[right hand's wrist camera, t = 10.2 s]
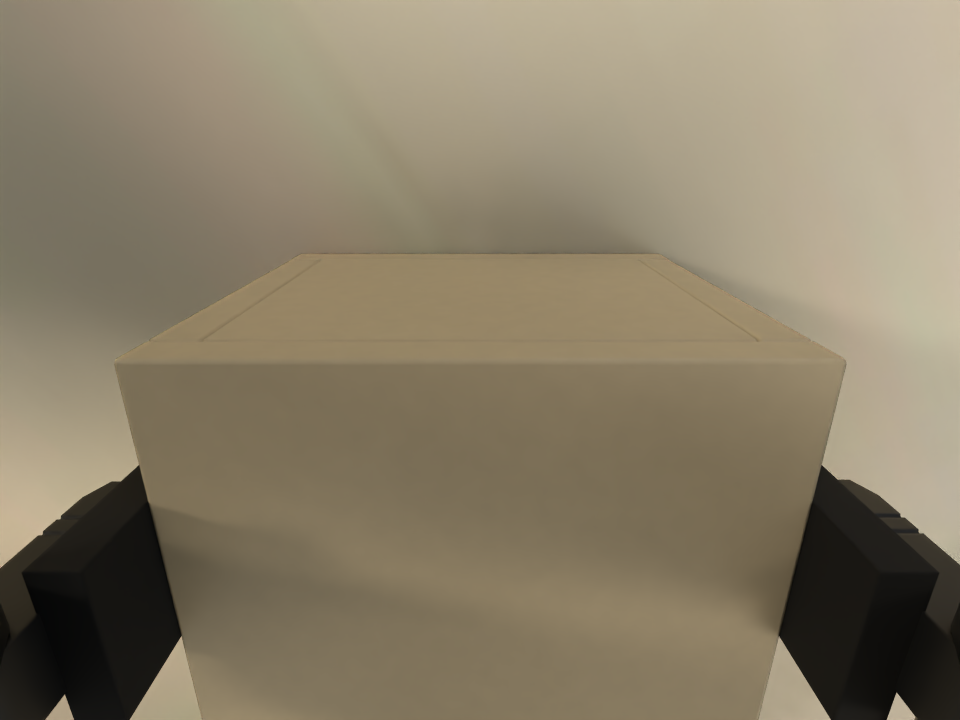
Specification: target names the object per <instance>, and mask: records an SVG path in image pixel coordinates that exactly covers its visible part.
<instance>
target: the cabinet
mask: <svg viewBox="0 0 960 720" xmlns="http://www.w3.org/2000/svg"><path fill="white" fill-rule="evenodd" d="M114 365H115V369H116V373H117V377H118V381H119V385H120V389H121V393H122V397H123V401H124V405H125V409H126V413H127V417H128V421H129V425H130V429H131V434H132V438H133V442H134V446H135V450H136V454H137V458H138V462H139V466H140V470H141V474H142V478H143V482H144V486H145V490H146V494H147V498H148V502H149V506H150V510H151V514H152V518H153V522H154V526H155V531H156V535H157V539H158V543H159V547H160V551H161V555H162V559H163V563H164V567H165V571H166V575H167V579H168V583H169V587H170V591H171V595H172V599H173V603H174V607H175V611H176V615H177V619H178V624H179V628H180V632H181V636H182V640H183V644H184V648H185V652H186V656H187V660H188V664H189V668H190V672H191V676H192V680H193V684H194V688H195V692H196V696H197V700H198V704H199V708H200V712H201V716H202V720H758V719H759V715H760V710H761V706H762V702H763V698H764V694H765V690H766V686H767V682H768V678H769V674H770V670H771V666H772V662H773V658H774V654H775V650H776V646H777V642H778V638H779V634H780V630H781V626H782V622H783V618H784V614H785V610H786V606H787V602H788V598H789V594H790V589H791V585H792V581H793V577H794V573H795V569H796V565H797V561H798V557H799V553H800V549H801V545H802V541H803V537H804V533H805V529H806V525H807V521H808V517H809V513H810V509H811V505H812V501H813V497H814V493H815V489H816V485H817V481H818V477H819V473H820V469H821V464H822V460H823V456H824V452H825V448H826V444H827V440H828V436H829V432H830V428H831V424H832V420H833V416H834V412H835V408H836V404H837V400H838V396H839V392H840V388H841V384H842V380H843V376H844V372H845V368H846V360H845V359H844V358H842V357H841V356H839V355H837V354H835V353H834V352H832V351H830V350H828V349H826V348H825V347H823V346H821V345H819V344H818V343H815V342H811V340H810V339H808V338H807V337H805V336H803V335H801V334H800V333H798V332H796V331H794V330H792V329H791V328H789V327H787V326H785V325H784V324H782V323H780V322H778V321H776V320H775V319H773V318H771V317H769V316H768V315H766V314H764V313H762V312H760V311H759V310H757V309H755V308H753V307H752V306H750V305H748V304H746V303H744V302H743V301H741V300H739V299H737V298H736V297H734V296H732V295H730V294H728V293H727V292H725V291H723V290H721V289H720V288H718V287H716V286H714V285H712V284H711V283H709V282H707V281H705V280H704V279H702V278H700V277H698V276H696V275H695V274H693V273H691V272H689V271H688V270H686V269H684V268H682V267H680V266H679V265H677V264H675V263H673V262H672V261H670V260H668V259H667V258H666V257H664V256H662V255H660V254H300V255H298V256H296V257H295V258H293V259H292V260H290V261H288V262H287V263H285V264H283V265H281V266H279V267H278V268H276V269H274V270H272V271H271V272H269V273H267V274H265V275H263V276H262V277H260V278H258V279H256V280H255V281H253V282H251V283H249V284H247V285H246V286H244V287H242V288H240V289H239V290H237V291H235V292H233V293H232V294H230V295H228V296H226V297H224V298H223V299H221V300H219V301H217V302H216V303H214V304H212V305H210V306H208V307H207V308H205V309H203V310H201V311H200V312H198V313H196V314H194V315H192V316H191V317H189V318H187V319H185V320H184V321H182V322H180V323H178V324H176V325H175V326H173V327H171V328H169V329H168V330H166V331H164V332H162V333H160V334H159V335H157V336H155V337H153V338H152V339H150V340H149V342H145V343H143V344H141V345H140V346H138V347H136V348H134V349H133V350H131V351H129V352H127V353H125V354H124V355H122V356H120V357H118V358H117V359H116V360H115V364H114Z"/></svg>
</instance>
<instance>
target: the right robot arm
mask: <svg viewBox="0 0 960 720" xmlns="http://www.w3.org/2000/svg"><path fill="white" fill-rule="evenodd" d="M779 636H780V638H781V640H782V641H783V643H784V645H785V646H786V648H787V649H788V651H789V653H790V654H791V656H792V657H793V659H794V661H795V662H796V664H797V665H798V667H799V669H800V670H801V672H802V674H803V675H804V677H805V678H806V680H807V682H808V683H809V685H810V686H811V688H812V690H813V691H814V693H815V695H816V696H817V698H818V699H819V701H820V703H821V704H822V706H823V707H824V709H825V711H826V712H827V714H828V715H829V717H830V719H831V720H887V717H888V714H889V712H890V709H891V706H892V703H893V700H894V698H895V695H896V692H897V693H898V694H899V696H900V697H901V698H902V700H903V701H904V702H905V703H906V705H907V706H908V707H909V709H910V710H911V711H912V713H913V714H914V715H915V716H916V717H915V720H960V565H959V564H958V563H957V562H956V561H955V560H953V559H952V558H951V557H950V556H949V555H948V554H946V553H945V552H944V551H943V550H942V549H941V548H939V547H938V546H937V545H936V544H935V543H934V542H932V541H931V540H930V539H929V538H928V537H927V536H925V535H924V534H919V532H918V529H917V528H916V527H915V526H914V525H913V524H911V523H910V522H909V521H908V520H907V519H906V518H901V516H900V513H899V512H897V511H896V510H895V509H894V508H893V507H892V506H890V505H889V504H888V503H887V502H886V501H885V500H883V499H882V498H881V497H880V496H879V495H877V494H875V493H873V492H871V491H869V490H868V489H866V488H864V487H862V486H860V485H858V484H856V483H855V482H853V481H851V480H837V479H836V478H835V477H834V476H833V475H832V474H831V473H830V472H829V471H827V470H826V469H825V468H824V467H823V466H822V465H821V469H820V473H819V477H818V481H817V485H816V489H815V493H814V497H813V501H812V505H811V509H810V513H809V517H808V521H807V525H806V529H805V533H804V537H803V541H802V545H801V549H800V553H799V557H798V561H797V565H796V569H795V573H794V577H793V581H792V585H791V589H790V594H789V598H788V602H787V606H786V610H785V614H784V618H783V622H782V626H781V630H780V634H779ZM180 637H181V632H180V628H179V624H178V619H177V615H176V611H175V607H174V603H173V599H172V595H171V591H170V587H169V583H168V579H167V575H166V571H165V567H164V563H163V559H162V555H161V551H160V547H159V543H158V539H157V535H156V531H155V526H154V522H153V518H152V514H151V510H150V506H149V502H148V498H147V494H146V490H145V486H144V482H143V478H142V474H141V470H140V466H138V467H136V468H135V469H134V470H133V471H132V472H131V473H130V474H129V475H128V476H127V477H125V478H124V479H123V480H122V481H121V482H110V483H108V484H106V485H104V486H103V487H101V488H99V489H97V490H95V491H93V492H91V493H90V494H88V495H86V496H84V497H82V498H81V499H80V500H79V501H78V502H77V503H75V504H74V505H73V506H72V507H71V508H70V509H68V510H67V511H66V512H65V513H64V514H63V515H61V519H60V520H56V521H55V522H53V523H52V524H51V525H50V526H49V527H48V528H46V529H45V530H44V531H43V535H38V536H37V537H36V538H35V539H34V540H33V541H31V542H30V543H29V544H28V545H27V546H26V547H24V548H23V549H22V550H21V551H20V552H19V553H17V554H16V555H15V556H14V557H13V558H12V559H10V560H9V561H8V562H7V563H6V564H5V565H4V566H2V567H1V568H0V720H45V719H46V718H47V717H48V715H49V714H50V713H51V711H52V710H53V709H54V707H55V706H56V705H57V704H58V702H59V701H60V700H61V698H62V697H63V696H64V694H65V696H66V698H67V701H68V704H69V707H70V709H71V712H72V715H73V718H74V720H130V718H131V716H132V715H133V713H134V712H135V710H136V708H137V707H138V705H139V704H140V702H141V700H142V699H143V697H144V695H145V694H146V692H147V691H148V689H149V687H150V686H151V684H152V683H153V681H154V679H155V678H156V676H157V674H158V673H159V671H160V670H161V668H162V666H163V665H164V663H165V662H166V660H167V658H168V657H169V655H170V654H171V652H172V650H173V649H174V647H175V645H176V644H177V642H178V641H179V639H180Z"/></svg>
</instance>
